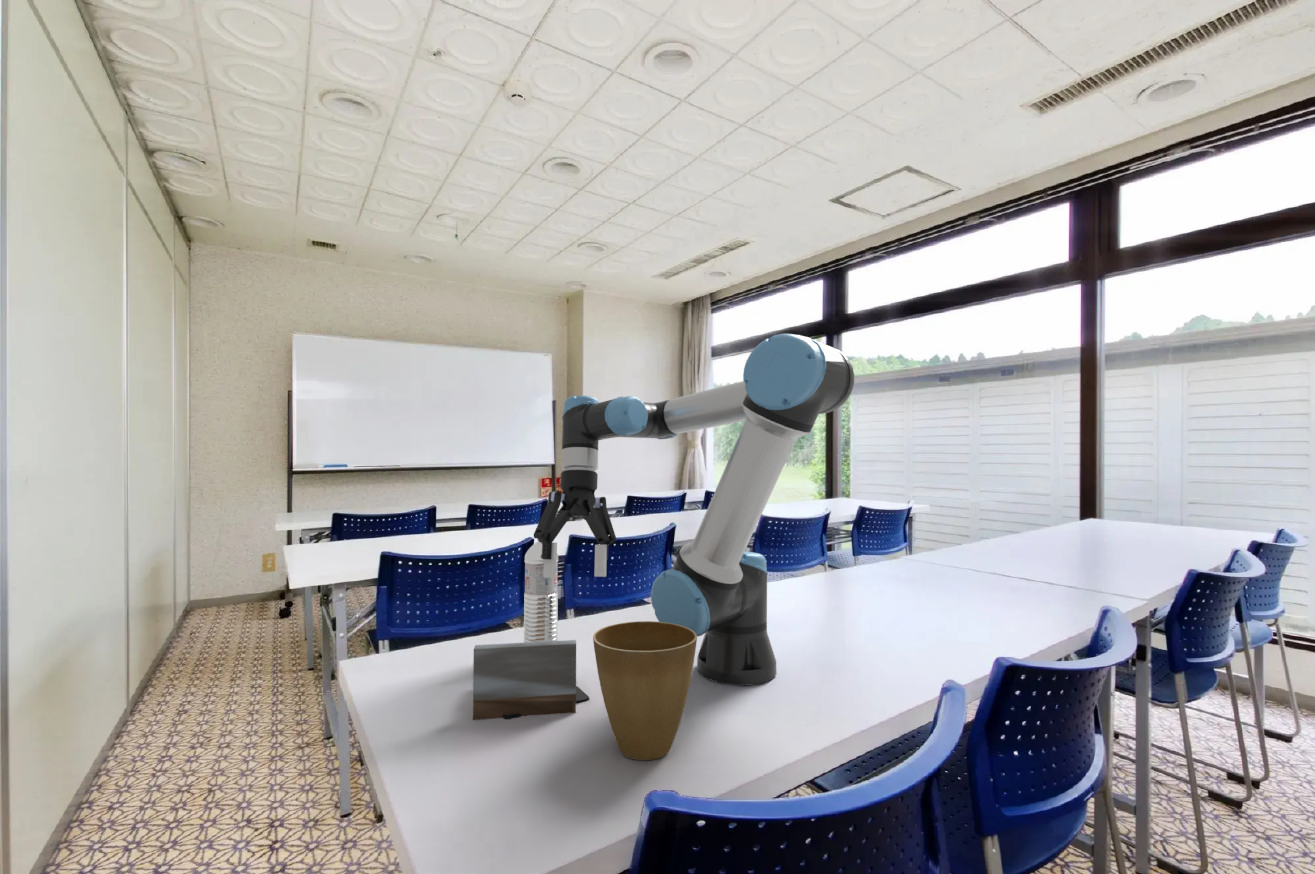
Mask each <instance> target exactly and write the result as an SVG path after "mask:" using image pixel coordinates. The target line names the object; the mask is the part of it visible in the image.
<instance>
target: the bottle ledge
mask: <svg viewBox="0 0 1315 874" xmlns="http://www.w3.org/2000/svg"><path fill="white" fill-rule="evenodd" d="M472 666H473V670H472V671H473V675H472V677H473V679H472V680H473V682H472V689H473V691H472V721H477V720H479V721H480V720H491V719H494V720H495V719H503V717H502V716H503V714H517V713H519V714H521V717H520V718H522V717H534V716H546V715H559V714H560V715H561V714H563V715H564V714H575V713H576V712H577V704H576V686H577V640H576V639H570V640H568V639H567V640H557V641H546V642H527V643H524V642H510V643H492V644H490V643H489V644H475V645H474V647H473V665H472Z"/></svg>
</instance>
